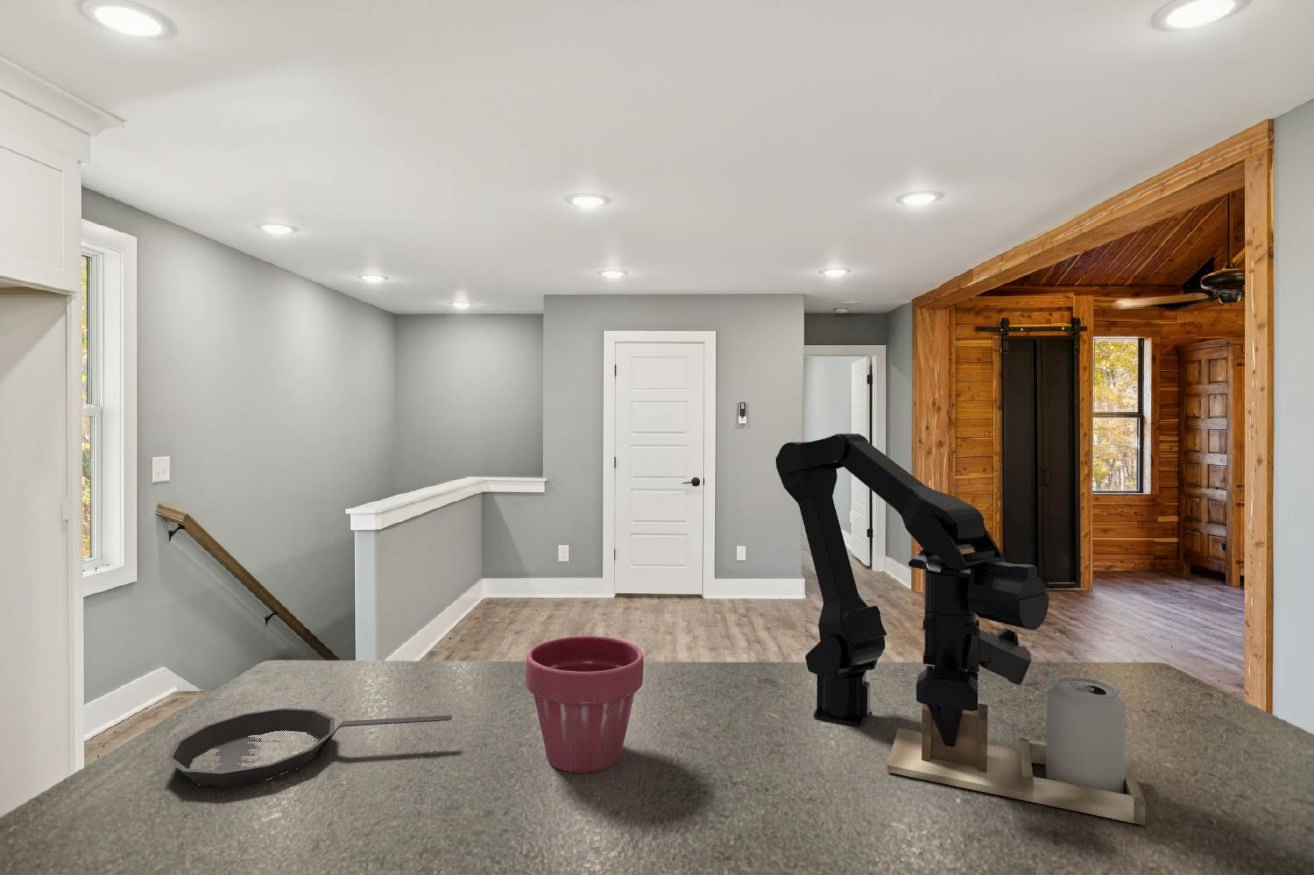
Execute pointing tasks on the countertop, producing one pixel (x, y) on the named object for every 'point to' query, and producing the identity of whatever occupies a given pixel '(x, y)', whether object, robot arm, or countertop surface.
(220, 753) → the frying pan
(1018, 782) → the wooden divided tray
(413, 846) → the countertop surface
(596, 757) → the plant pot
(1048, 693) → the can
